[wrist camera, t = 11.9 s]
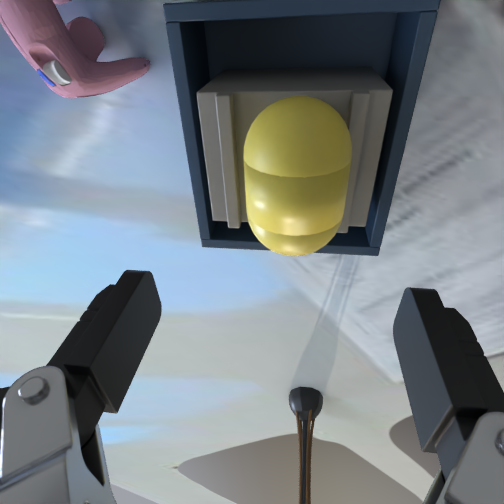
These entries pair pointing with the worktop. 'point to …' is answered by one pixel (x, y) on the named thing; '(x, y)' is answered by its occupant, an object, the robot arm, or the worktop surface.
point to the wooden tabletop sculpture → (305, 433)
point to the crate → (300, 56)
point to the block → (271, 90)
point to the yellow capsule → (296, 174)
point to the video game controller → (65, 49)
